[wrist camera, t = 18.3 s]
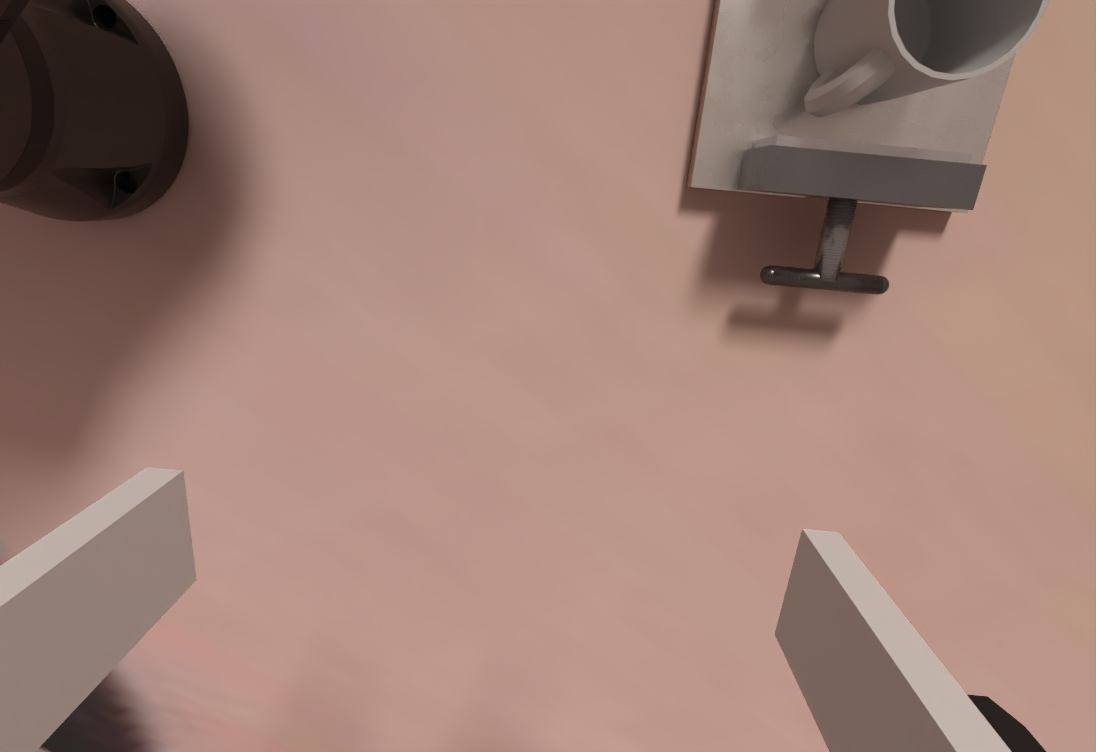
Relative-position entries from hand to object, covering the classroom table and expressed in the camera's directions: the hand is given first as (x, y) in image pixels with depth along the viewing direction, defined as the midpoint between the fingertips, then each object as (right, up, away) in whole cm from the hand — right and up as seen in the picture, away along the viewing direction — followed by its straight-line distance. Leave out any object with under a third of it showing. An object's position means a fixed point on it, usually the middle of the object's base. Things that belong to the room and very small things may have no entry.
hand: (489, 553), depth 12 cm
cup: (+20, +23, +23) cm, 38 cm away
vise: (+20, +21, +25) cm, 38 cm away
